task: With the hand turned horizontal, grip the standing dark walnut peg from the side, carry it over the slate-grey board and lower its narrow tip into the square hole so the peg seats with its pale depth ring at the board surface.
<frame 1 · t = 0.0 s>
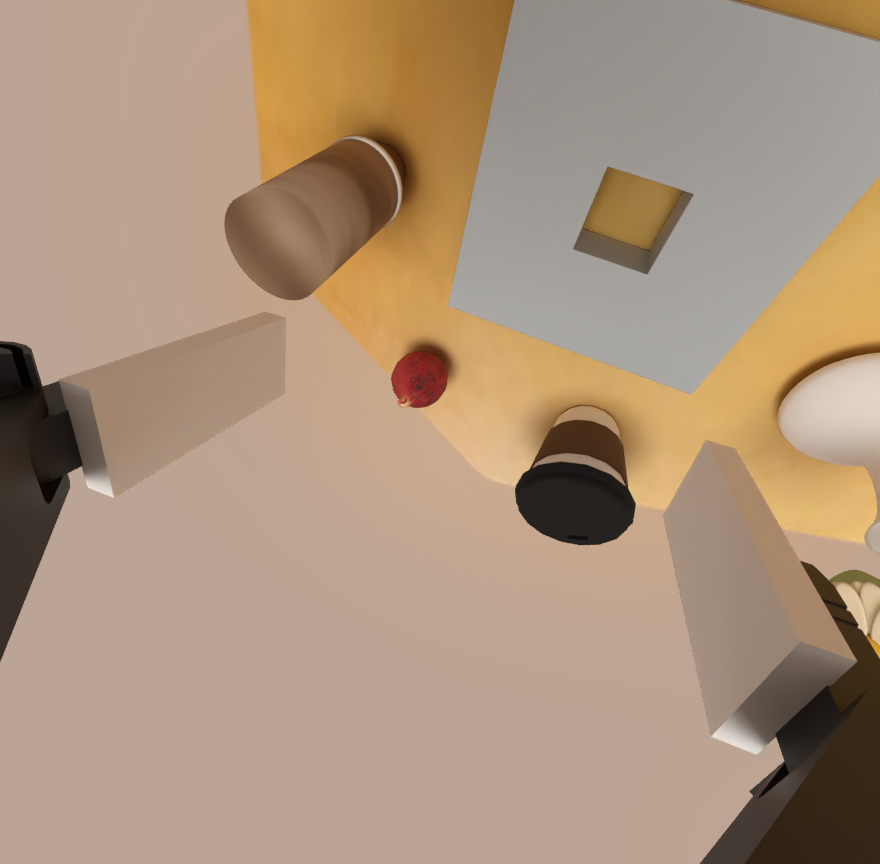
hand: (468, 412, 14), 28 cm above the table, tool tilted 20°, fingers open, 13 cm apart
flower in vase: (847, 401, 38), on the table
walnut peg: (383, 170, 37), on the table
coffee cup: (586, 425, 49), on the table
onion: (432, 358, 50), on the table
slate board: (632, 202, 33), on the table
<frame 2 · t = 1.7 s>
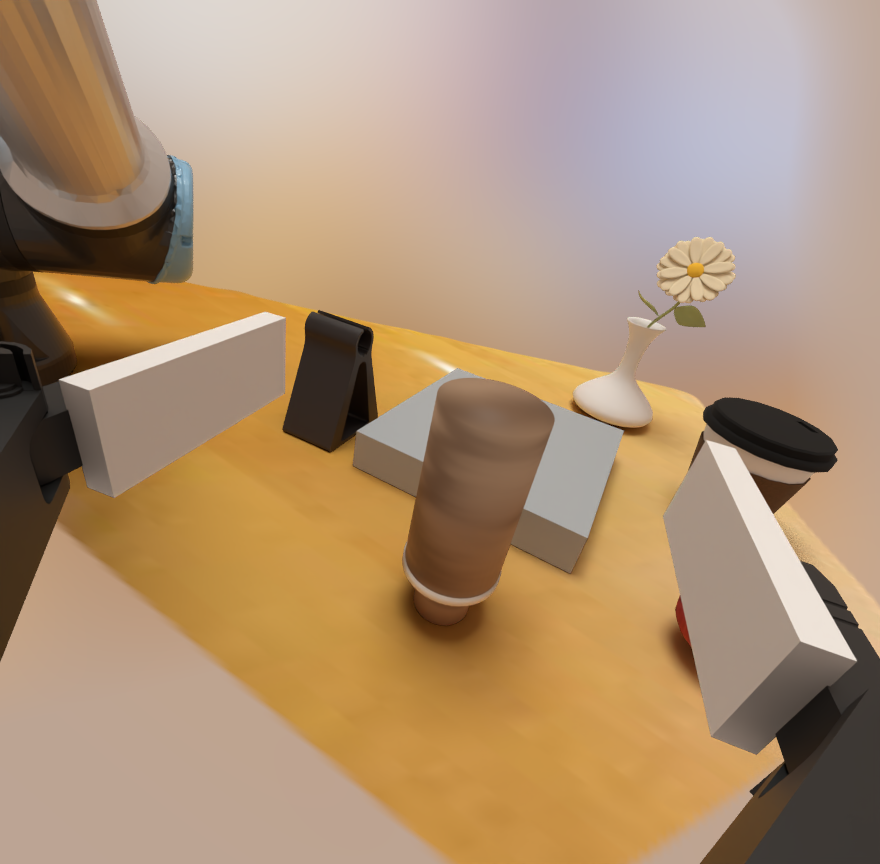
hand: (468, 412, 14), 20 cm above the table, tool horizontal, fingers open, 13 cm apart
flower in vase: (611, 418, 65), on the table
walnut peg: (441, 600, 32), on the table
coffee cup: (709, 522, 47), on the table
onion: (697, 653, 32), on the table
slate board: (496, 461, 49), on the table
phone stand: (332, 427, 49), on the table
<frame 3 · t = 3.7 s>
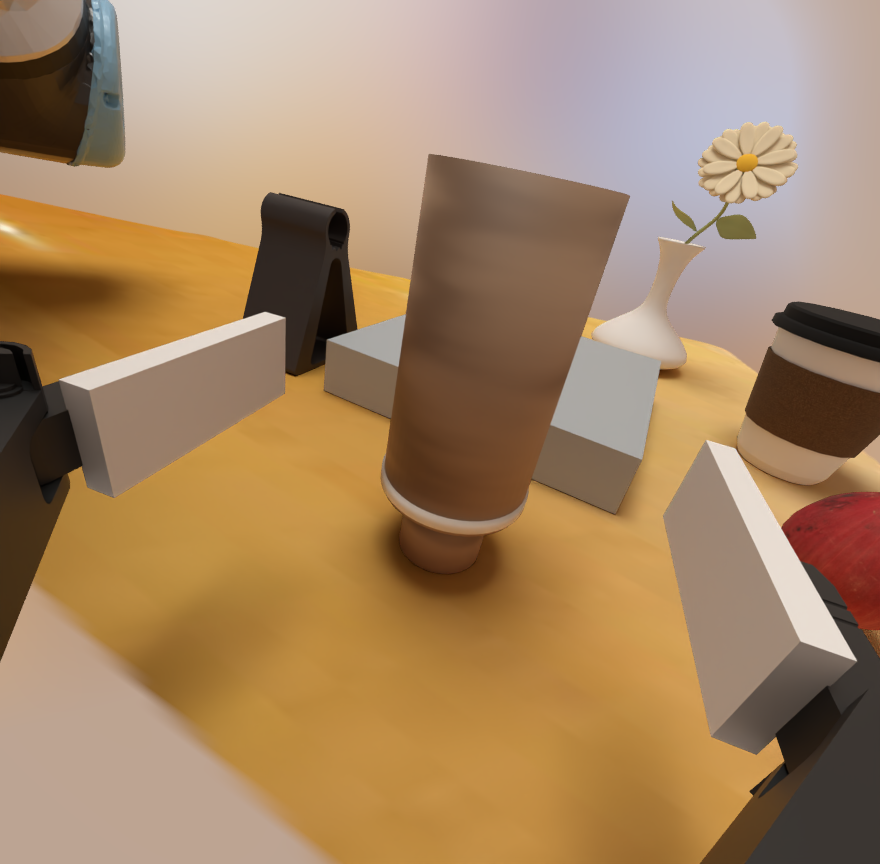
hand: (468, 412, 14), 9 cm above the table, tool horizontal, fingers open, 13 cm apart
flower in vase: (637, 363, 55), on the table
walnut peg: (439, 542, 22), on the table
coffee cup: (774, 464, 37), on the table
onion: (806, 615, 23), on the table
slate board: (506, 394, 39), on the table
phone stand: (302, 353, 39), on the table
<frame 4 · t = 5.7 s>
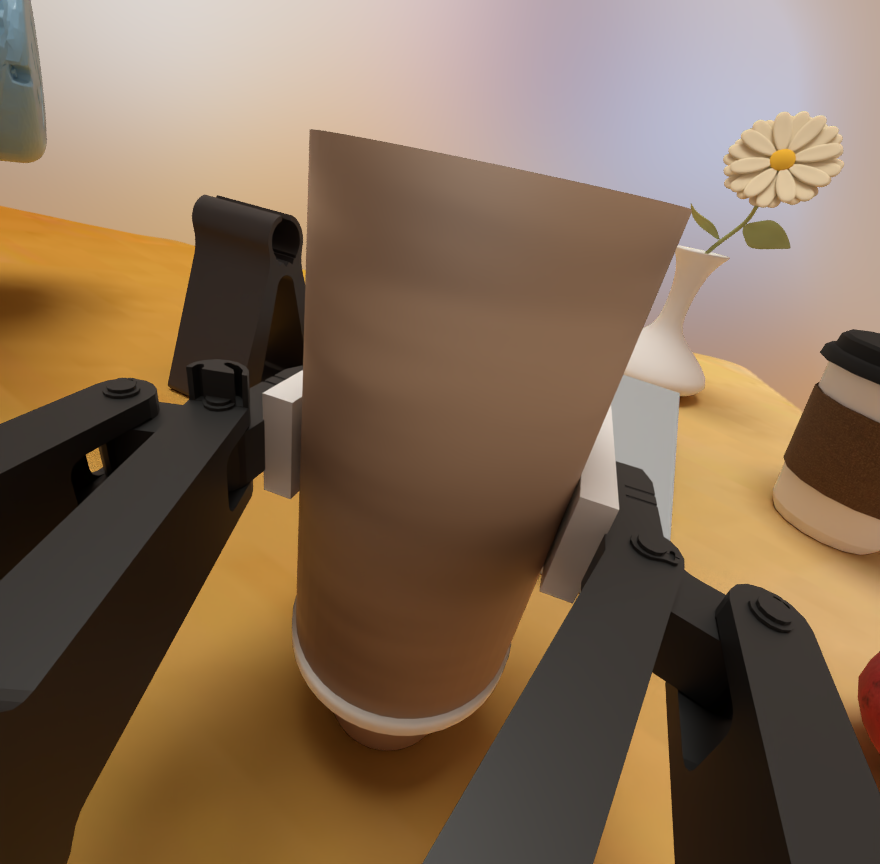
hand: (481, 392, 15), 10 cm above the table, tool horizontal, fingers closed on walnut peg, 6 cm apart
flower in vase: (648, 387, 49), on the table
walnut peg: (388, 686, 16), on the table, touching gripper
coffee cup: (819, 524, 31), on the table
slate board: (496, 436, 33), on the table
phone stand: (253, 386, 33), on the table
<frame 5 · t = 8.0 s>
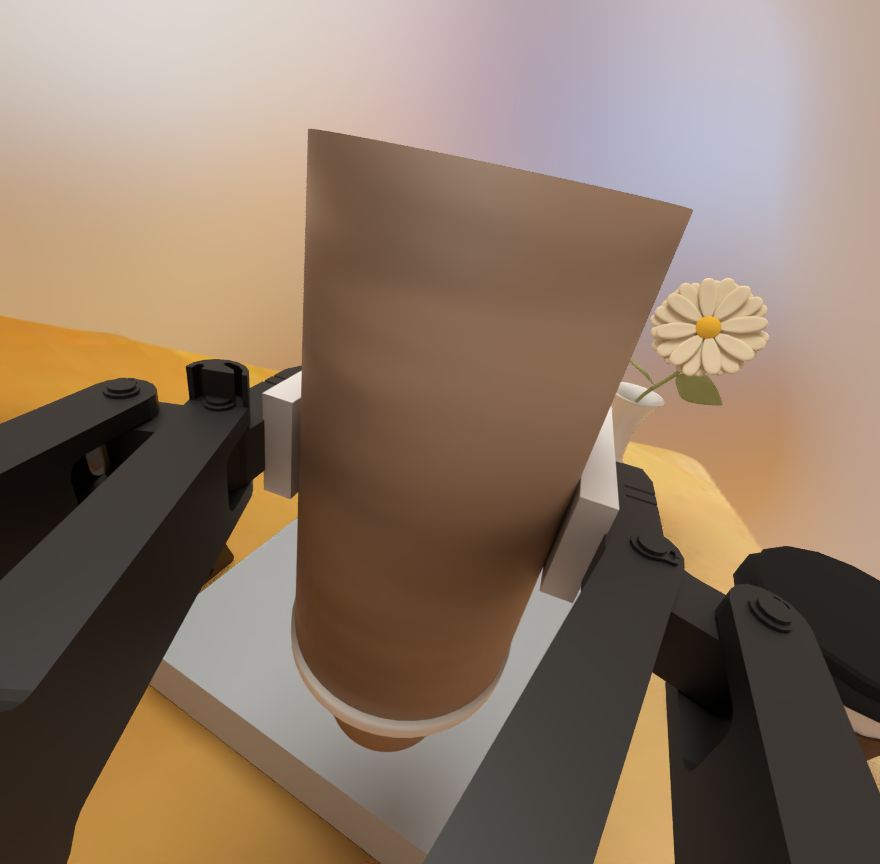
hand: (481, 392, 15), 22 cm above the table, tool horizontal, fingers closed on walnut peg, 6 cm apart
flower in vase: (592, 513, 48), on the table
walnut peg: (388, 688, 16), point 12 cm above the table, touching gripper
coffee cup: (741, 733, 30), on the table
slate board: (408, 635, 31), on the table
phone stand: (151, 584, 31), on the table
when the fingers open (11 cm above the table, at t = 10.6 s): walnut peg drops 1 cm, resting on slate board.
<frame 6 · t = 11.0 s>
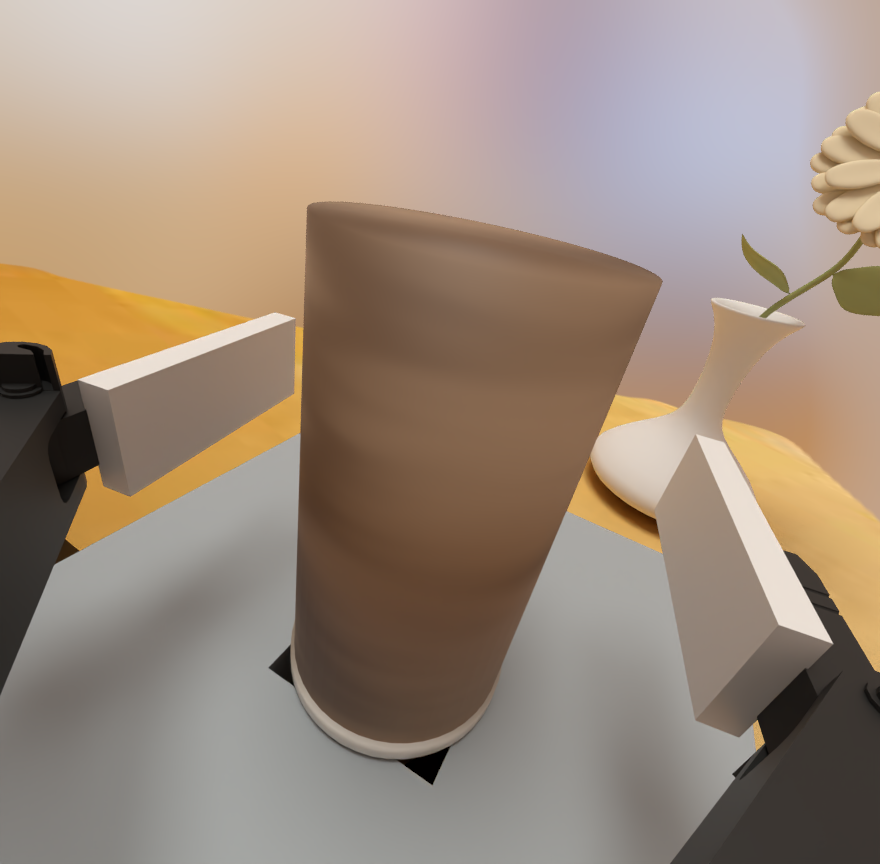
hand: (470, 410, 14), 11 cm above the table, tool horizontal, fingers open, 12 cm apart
flower in vase: (667, 502, 33), on the table
walnut peg: (384, 705, 16), resting on slate board
slate board: (383, 711, 17), on the table
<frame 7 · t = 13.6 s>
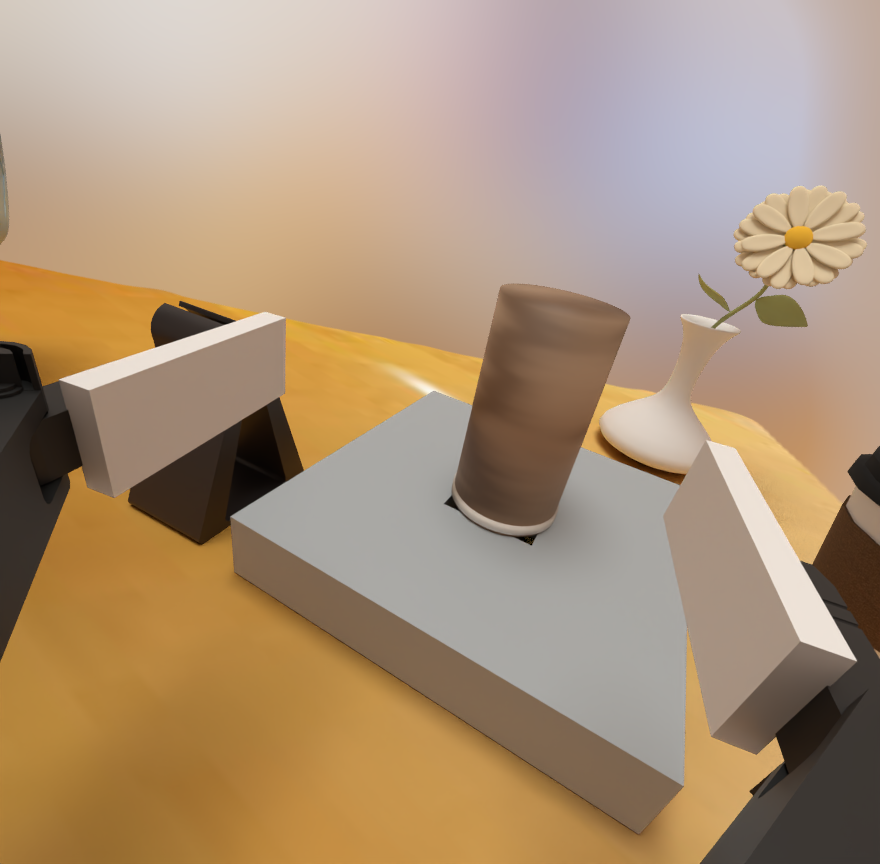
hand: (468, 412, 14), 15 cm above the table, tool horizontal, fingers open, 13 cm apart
flower in vase: (654, 457, 46), on the table
walnut peg: (490, 541, 30), resting on slate board
coffee cup: (848, 652, 28), on the table
slate board: (488, 546, 30), on the table
phone stand: (224, 491, 31), on the table
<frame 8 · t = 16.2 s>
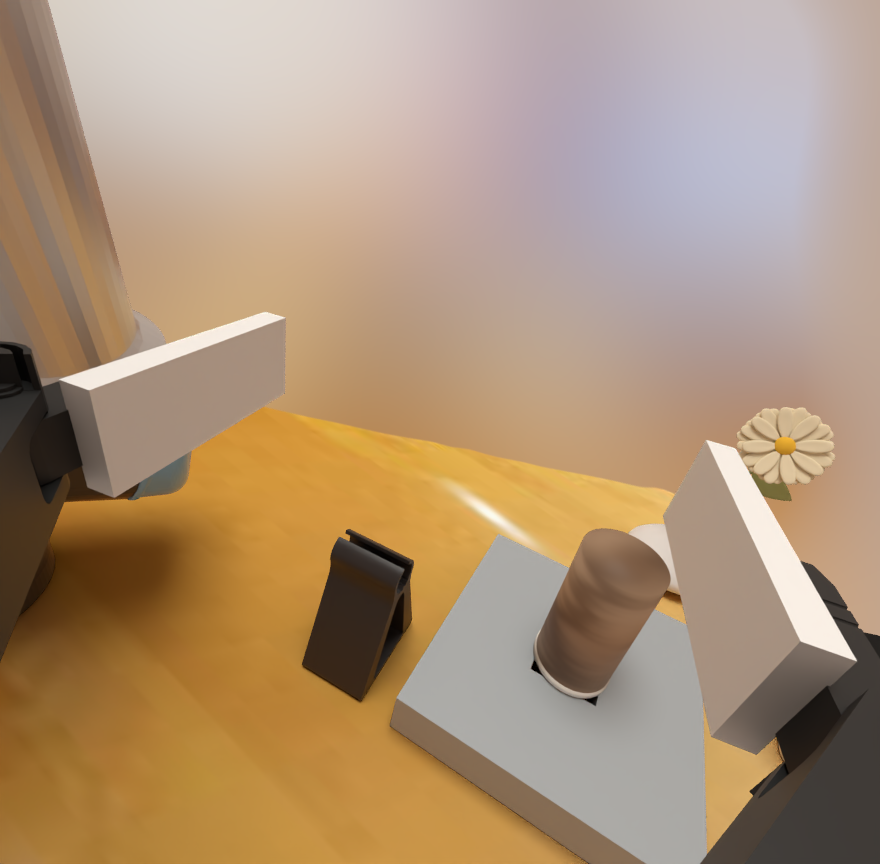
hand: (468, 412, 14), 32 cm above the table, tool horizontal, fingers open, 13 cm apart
flower in vase: (669, 573, 57), on the table
walnut peg: (557, 683, 41), resting on slate board
slate board: (555, 686, 41), on the table
phone stand: (360, 644, 41), on the table
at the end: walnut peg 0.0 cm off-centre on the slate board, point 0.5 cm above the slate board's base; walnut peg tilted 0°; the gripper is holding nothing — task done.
